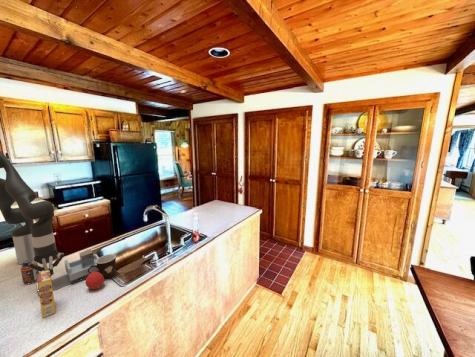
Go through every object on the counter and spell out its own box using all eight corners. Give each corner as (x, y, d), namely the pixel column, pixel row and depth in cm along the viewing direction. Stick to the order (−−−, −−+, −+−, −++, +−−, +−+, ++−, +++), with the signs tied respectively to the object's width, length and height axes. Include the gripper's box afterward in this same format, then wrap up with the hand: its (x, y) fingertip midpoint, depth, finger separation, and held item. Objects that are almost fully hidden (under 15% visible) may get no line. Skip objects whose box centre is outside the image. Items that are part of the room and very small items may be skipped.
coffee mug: (119, 269, 109) (117, 252, 107) (115, 279, 101) (113, 261, 99) (94, 274, 105) (92, 257, 103) (88, 284, 97) (86, 266, 95)
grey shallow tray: (66, 272, 106) (64, 259, 104) (97, 261, 116) (95, 249, 115) (71, 284, 96) (68, 270, 95) (104, 271, 107) (102, 258, 106)
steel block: (81, 266, 107) (79, 253, 106) (92, 262, 110) (90, 249, 109) (83, 270, 103) (81, 256, 102) (94, 266, 107) (92, 252, 106)
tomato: (84, 277, 89) (100, 265, 96) (79, 282, 93) (95, 270, 100) (96, 290, 90) (111, 277, 96) (90, 294, 93) (105, 282, 100)
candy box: (56, 312, 80) (51, 278, 78) (42, 318, 77) (36, 284, 75) (54, 301, 87) (49, 269, 84) (41, 306, 83) (35, 274, 81)
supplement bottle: (19, 286, 96) (15, 264, 95) (28, 278, 102) (25, 258, 100) (34, 283, 98) (30, 262, 96) (42, 276, 104) (39, 256, 102)
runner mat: (36, 286, 96) (36, 285, 96) (99, 263, 115) (99, 262, 115) (38, 297, 89) (38, 296, 89) (104, 270, 108) (104, 270, 108)
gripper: (24, 251, 86) (30, 286, 88) (63, 240, 95) (68, 272, 98) (23, 245, 90) (29, 279, 93) (61, 236, 100) (66, 266, 103)
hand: (49, 275), depth 96 cm, fingers closed
